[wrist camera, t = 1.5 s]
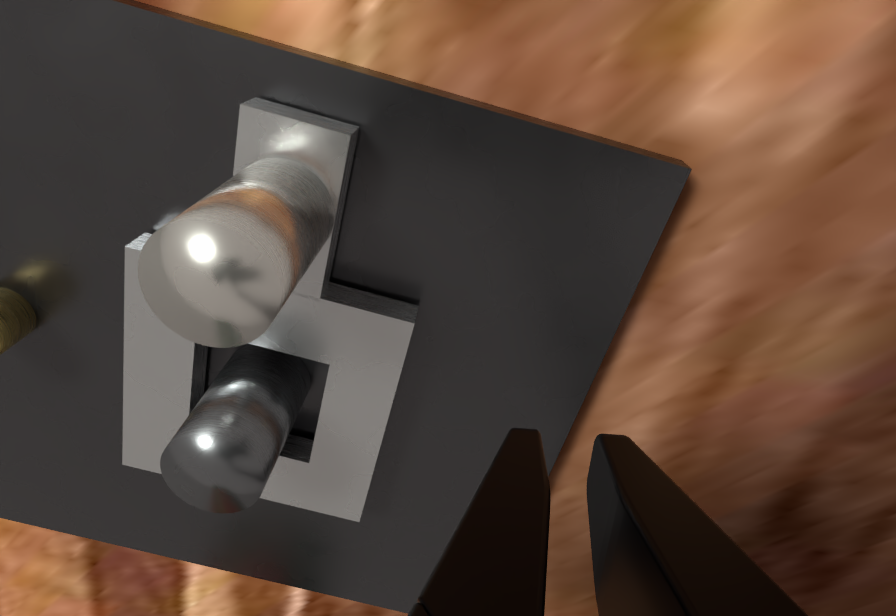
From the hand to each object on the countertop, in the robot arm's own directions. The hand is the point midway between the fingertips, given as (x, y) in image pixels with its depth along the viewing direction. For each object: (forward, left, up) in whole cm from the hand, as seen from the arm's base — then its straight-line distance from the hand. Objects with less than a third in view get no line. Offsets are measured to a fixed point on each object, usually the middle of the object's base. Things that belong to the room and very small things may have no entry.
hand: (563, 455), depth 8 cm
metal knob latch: (-6, +7, -11) cm, 14 cm away
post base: (-9, +7, -12) cm, 16 cm away
